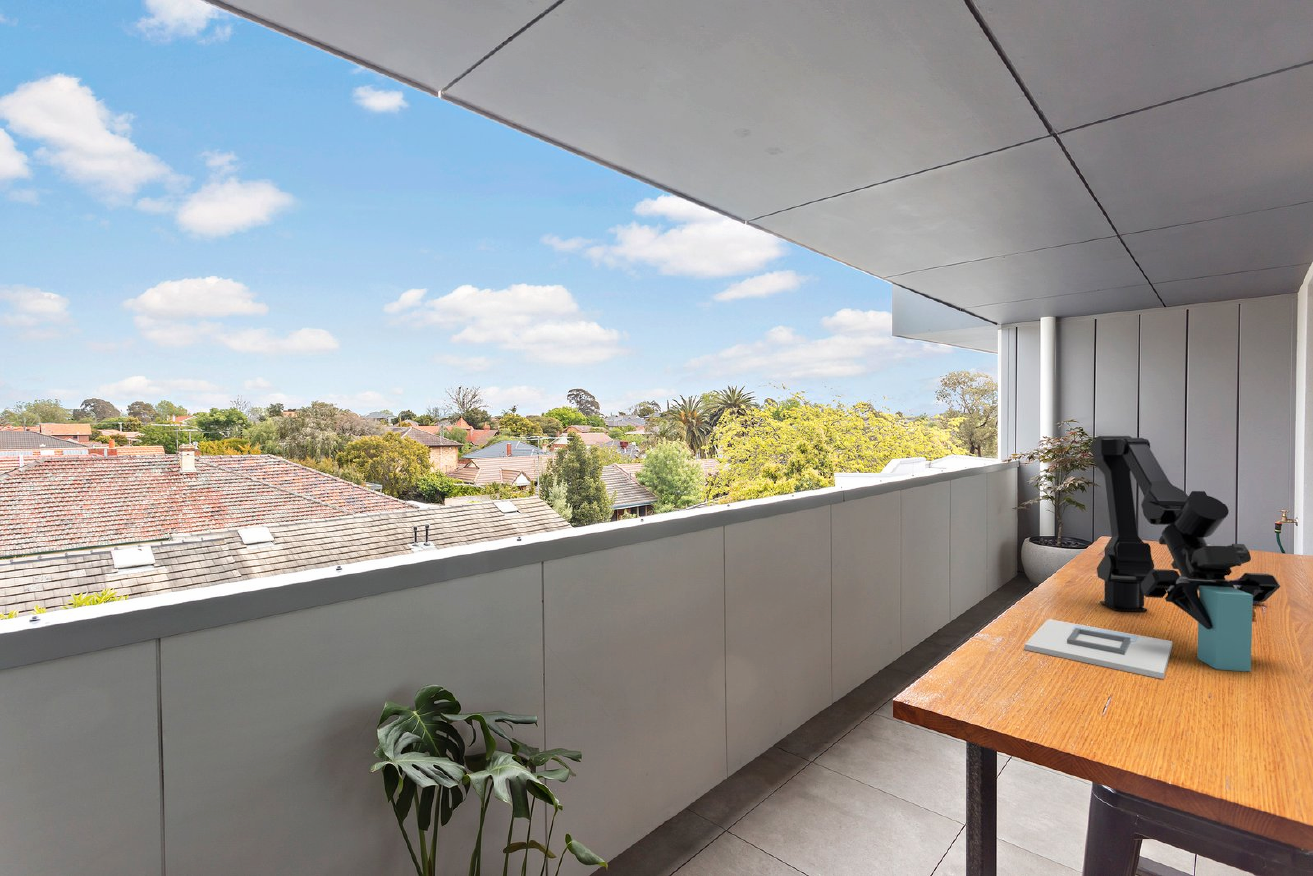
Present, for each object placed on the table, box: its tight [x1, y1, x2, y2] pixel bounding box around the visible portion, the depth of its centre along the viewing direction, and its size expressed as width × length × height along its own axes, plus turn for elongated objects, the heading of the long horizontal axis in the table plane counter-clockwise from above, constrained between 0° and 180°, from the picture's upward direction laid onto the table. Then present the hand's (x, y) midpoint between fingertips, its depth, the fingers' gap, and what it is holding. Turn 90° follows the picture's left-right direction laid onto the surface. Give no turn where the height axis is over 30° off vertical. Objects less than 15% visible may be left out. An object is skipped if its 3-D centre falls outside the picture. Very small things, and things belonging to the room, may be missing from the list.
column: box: [1196, 586, 1254, 673], centre depth 107 cm, size 5×5×13 cm
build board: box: [1024, 618, 1173, 680], centre depth 115 cm, size 20×20×2 cm
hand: (1229, 629), depth 105 cm, fingers closed on column, 5 cm apart
